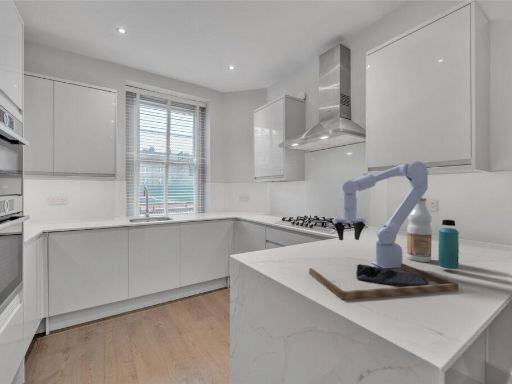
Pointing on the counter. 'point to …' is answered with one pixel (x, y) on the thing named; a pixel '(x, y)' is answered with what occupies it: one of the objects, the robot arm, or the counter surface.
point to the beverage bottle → (448, 246)
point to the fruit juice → (419, 233)
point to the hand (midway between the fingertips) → (348, 239)
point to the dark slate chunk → (389, 276)
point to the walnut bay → (368, 293)
